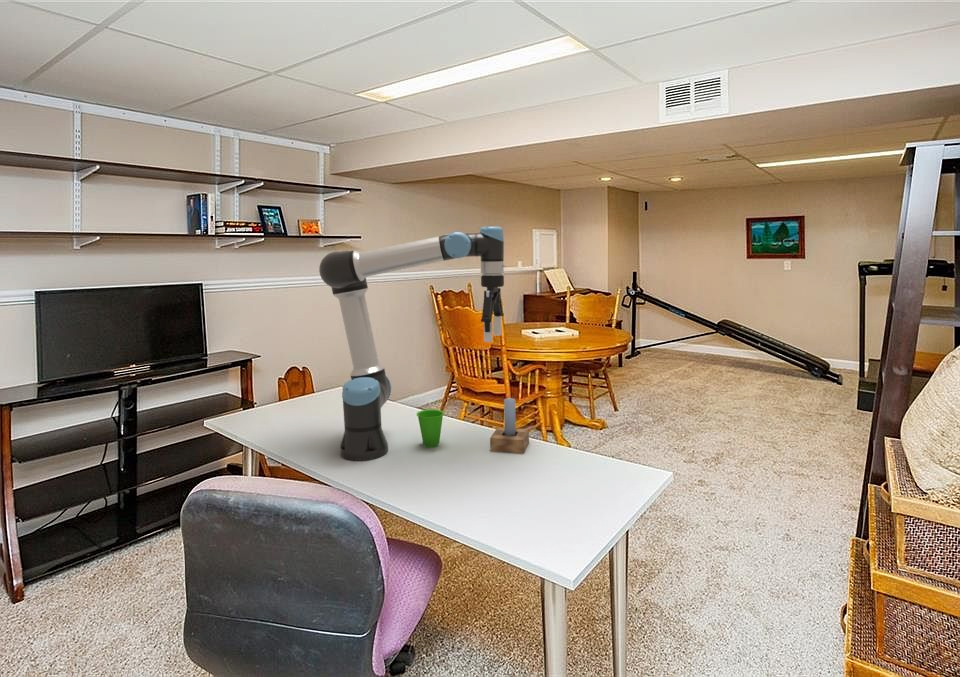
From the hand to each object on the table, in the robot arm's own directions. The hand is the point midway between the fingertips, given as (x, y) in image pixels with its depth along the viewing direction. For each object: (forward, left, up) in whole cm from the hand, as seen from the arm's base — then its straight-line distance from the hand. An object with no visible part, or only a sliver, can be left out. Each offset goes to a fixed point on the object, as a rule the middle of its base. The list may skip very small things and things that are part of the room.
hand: (493, 338), depth 185 cm
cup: (-19, -11, -35) cm, 41 cm away
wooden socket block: (+7, -7, -35) cm, 36 cm away
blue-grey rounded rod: (+7, -7, -35) cm, 36 cm away
